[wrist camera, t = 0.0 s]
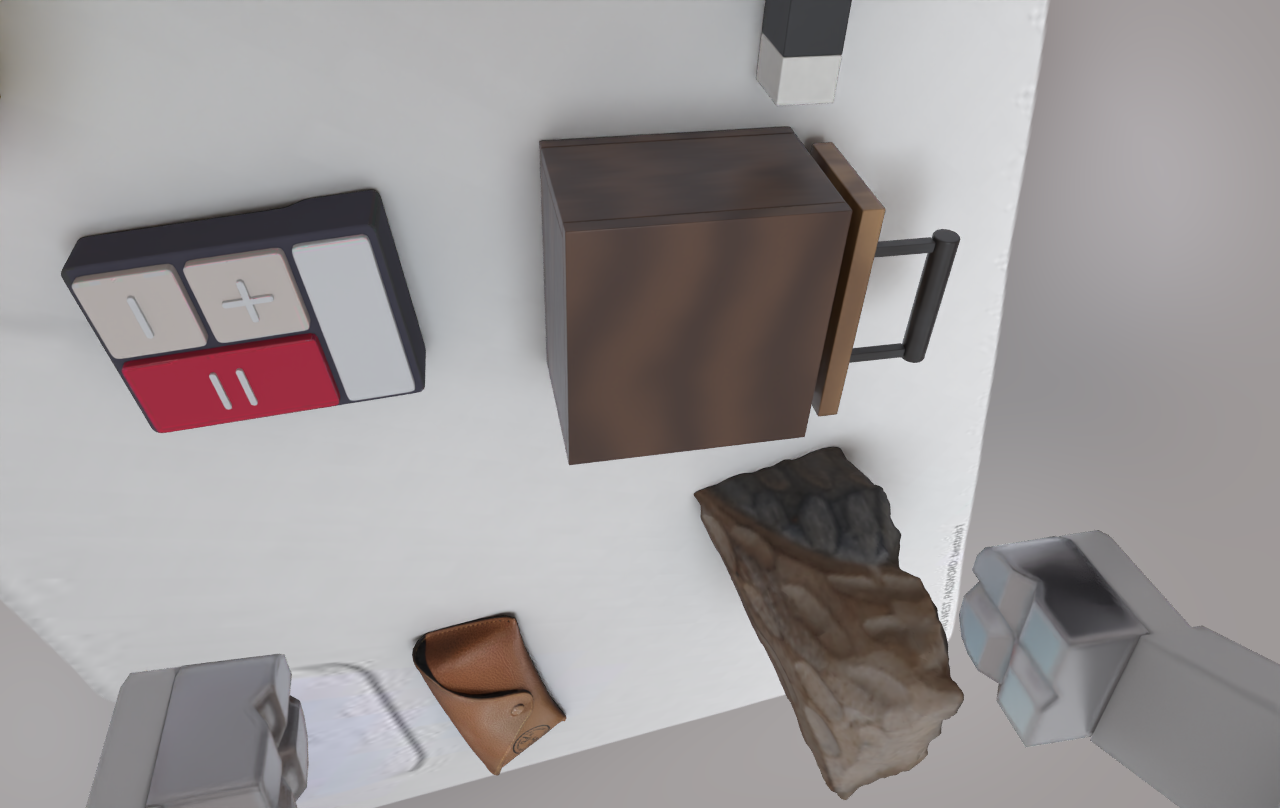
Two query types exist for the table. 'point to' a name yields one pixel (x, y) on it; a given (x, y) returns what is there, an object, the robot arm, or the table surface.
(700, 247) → the cabinet
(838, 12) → the black and white block
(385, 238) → the red white panel box
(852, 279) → the drawer
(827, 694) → the owl
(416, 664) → the sunglasses case
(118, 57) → the table surface
